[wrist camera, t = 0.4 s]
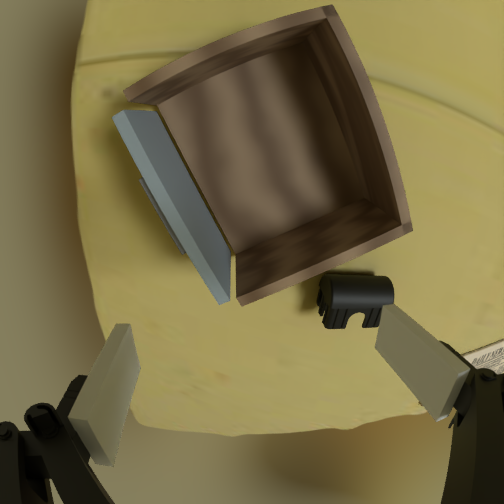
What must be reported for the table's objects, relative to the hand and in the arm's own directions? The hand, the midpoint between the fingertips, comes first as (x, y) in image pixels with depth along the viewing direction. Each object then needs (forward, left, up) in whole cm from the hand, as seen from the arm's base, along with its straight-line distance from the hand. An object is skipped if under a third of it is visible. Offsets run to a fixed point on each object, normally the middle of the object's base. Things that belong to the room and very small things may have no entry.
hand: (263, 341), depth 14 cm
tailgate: (+5, -5, -24) cm, 25 cm away
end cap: (-9, +19, -26) cm, 34 cm away
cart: (-6, -5, -26) cm, 27 cm away
